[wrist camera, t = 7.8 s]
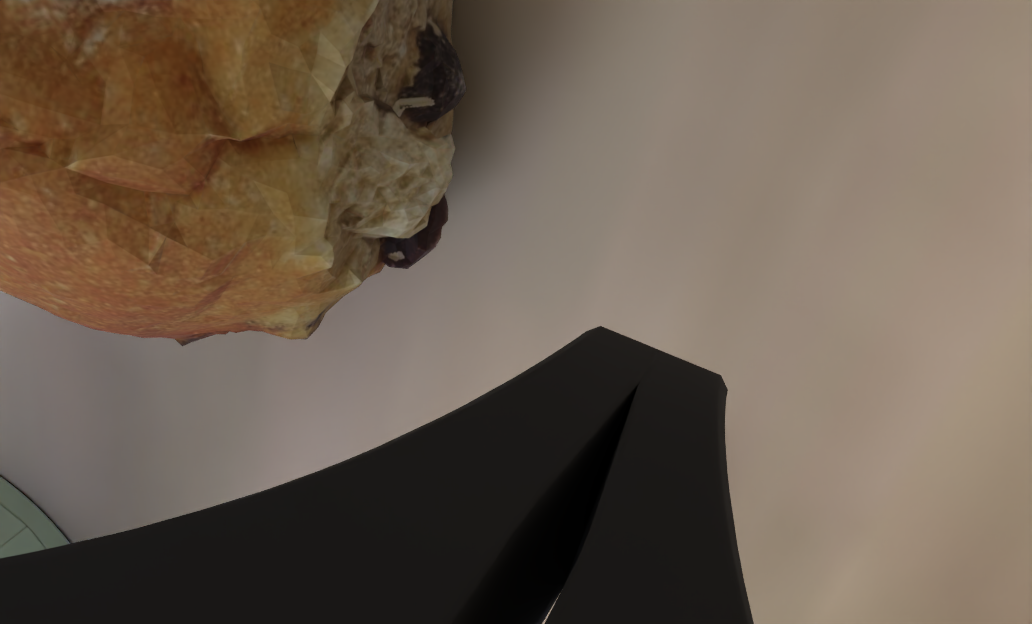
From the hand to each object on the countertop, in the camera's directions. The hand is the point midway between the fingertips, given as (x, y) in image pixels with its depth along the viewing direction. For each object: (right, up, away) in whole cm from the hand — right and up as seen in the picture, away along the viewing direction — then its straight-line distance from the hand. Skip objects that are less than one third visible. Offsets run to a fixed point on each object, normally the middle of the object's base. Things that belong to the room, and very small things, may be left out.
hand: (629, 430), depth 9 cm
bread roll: (-6, +6, +6) cm, 11 cm away
